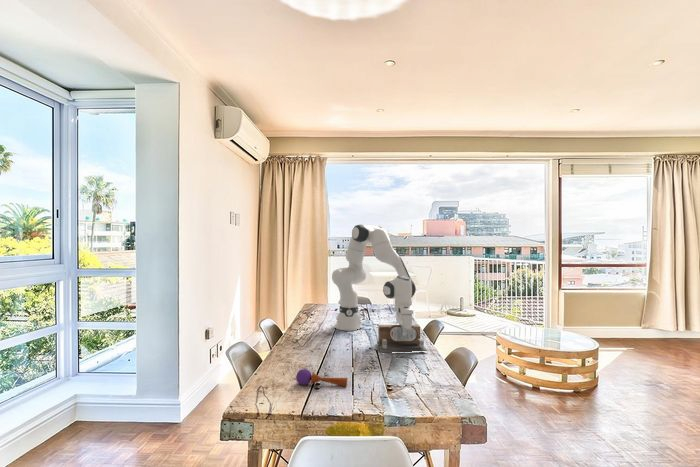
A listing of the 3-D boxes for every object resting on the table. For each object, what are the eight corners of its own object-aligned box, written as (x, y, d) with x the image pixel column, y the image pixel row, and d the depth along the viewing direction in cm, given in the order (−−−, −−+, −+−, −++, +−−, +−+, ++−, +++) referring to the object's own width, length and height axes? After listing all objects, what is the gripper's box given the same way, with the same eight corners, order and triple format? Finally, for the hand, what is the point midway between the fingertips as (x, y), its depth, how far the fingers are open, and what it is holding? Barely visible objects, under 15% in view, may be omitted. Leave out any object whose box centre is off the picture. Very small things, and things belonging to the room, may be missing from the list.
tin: (417, 341, 180) (417, 324, 181) (418, 342, 177) (418, 325, 178) (388, 341, 180) (388, 324, 181) (388, 342, 177) (388, 325, 178)
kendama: (346, 379, 131) (295, 373, 133) (345, 394, 132) (294, 387, 134) (348, 371, 137) (298, 365, 139) (347, 384, 138) (297, 378, 140)
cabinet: (377, 344, 190) (377, 324, 190) (418, 343, 191) (418, 324, 191) (382, 353, 174) (382, 332, 174) (427, 353, 175) (427, 332, 175)
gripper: (393, 303, 190) (393, 329, 189) (401, 311, 169) (401, 339, 169) (404, 303, 190) (404, 329, 190) (414, 311, 170) (414, 339, 169)
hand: (403, 334), depth 179 cm, fingers closed on tin, 3 cm apart
